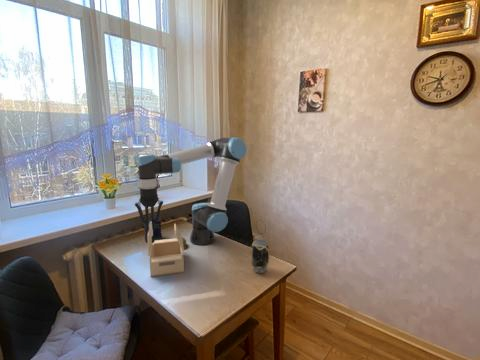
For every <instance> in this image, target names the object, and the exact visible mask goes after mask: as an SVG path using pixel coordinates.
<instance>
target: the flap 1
mask: <svg viewBox="0 0 480 360" xmlns="http://www.w3.org/2000/svg"><path fill="white" fill-rule="evenodd" d="M147 239H148V243H147V256H148V257H150V253H151V247H152V236H151V237H150V231H148V235H147Z"/></svg>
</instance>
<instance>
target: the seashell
mask: <svg viewBox="0 0 480 360" xmlns="http://www.w3.org/2000/svg"><path fill="white" fill-rule="evenodd" d="M181 237H182V236H181ZM182 239H183V247H184V250H186V249H187V248H188V246H187V240H186V238H185V237H182Z"/></svg>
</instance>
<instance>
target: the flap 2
mask: <svg viewBox="0 0 480 360" xmlns="http://www.w3.org/2000/svg"><path fill="white" fill-rule="evenodd" d="M174 236H175V238H177V240H178V242H179V244H180V247H181V249H182V251H183V253H185V249H184V247H183V239H182V235H181V233H180V231H179V229H178V226H177V224H176V223H174Z"/></svg>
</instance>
